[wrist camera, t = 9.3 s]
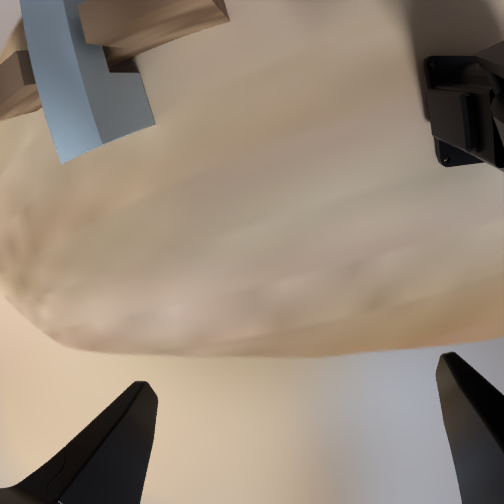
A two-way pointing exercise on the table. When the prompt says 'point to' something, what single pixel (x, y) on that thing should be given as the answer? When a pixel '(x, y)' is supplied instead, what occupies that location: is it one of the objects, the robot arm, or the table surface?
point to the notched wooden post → (112, 39)
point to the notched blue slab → (79, 82)
